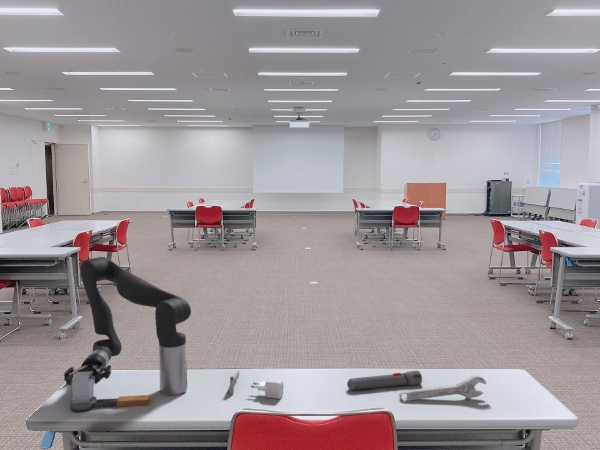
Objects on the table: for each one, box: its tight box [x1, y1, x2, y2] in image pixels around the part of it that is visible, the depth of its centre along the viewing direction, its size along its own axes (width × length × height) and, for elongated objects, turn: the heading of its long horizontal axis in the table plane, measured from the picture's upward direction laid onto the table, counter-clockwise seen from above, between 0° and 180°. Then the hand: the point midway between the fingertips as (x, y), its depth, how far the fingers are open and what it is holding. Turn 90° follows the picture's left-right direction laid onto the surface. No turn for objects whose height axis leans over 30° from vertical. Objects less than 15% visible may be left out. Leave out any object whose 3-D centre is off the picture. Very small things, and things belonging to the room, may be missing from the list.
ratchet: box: [69, 394, 151, 413], centre depth 161 cm, size 25×8×6 cm, turn 98°
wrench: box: [399, 374, 487, 402], centre depth 166 cm, size 8×2×30 cm
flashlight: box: [346, 370, 423, 391], centre depth 176 cm, size 5×28×5 cm, turn 104°
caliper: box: [229, 370, 240, 396], centre depth 179 cm, size 20×1×6 cm, turn 0°
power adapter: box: [250, 377, 284, 400], centre depth 168 cm, size 11×5×6 cm, turn 76°
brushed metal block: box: [71, 371, 95, 405], centre depth 159 cm, size 5×5×9 cm
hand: (82, 381), depth 158 cm, fingers open, 8 cm apart
